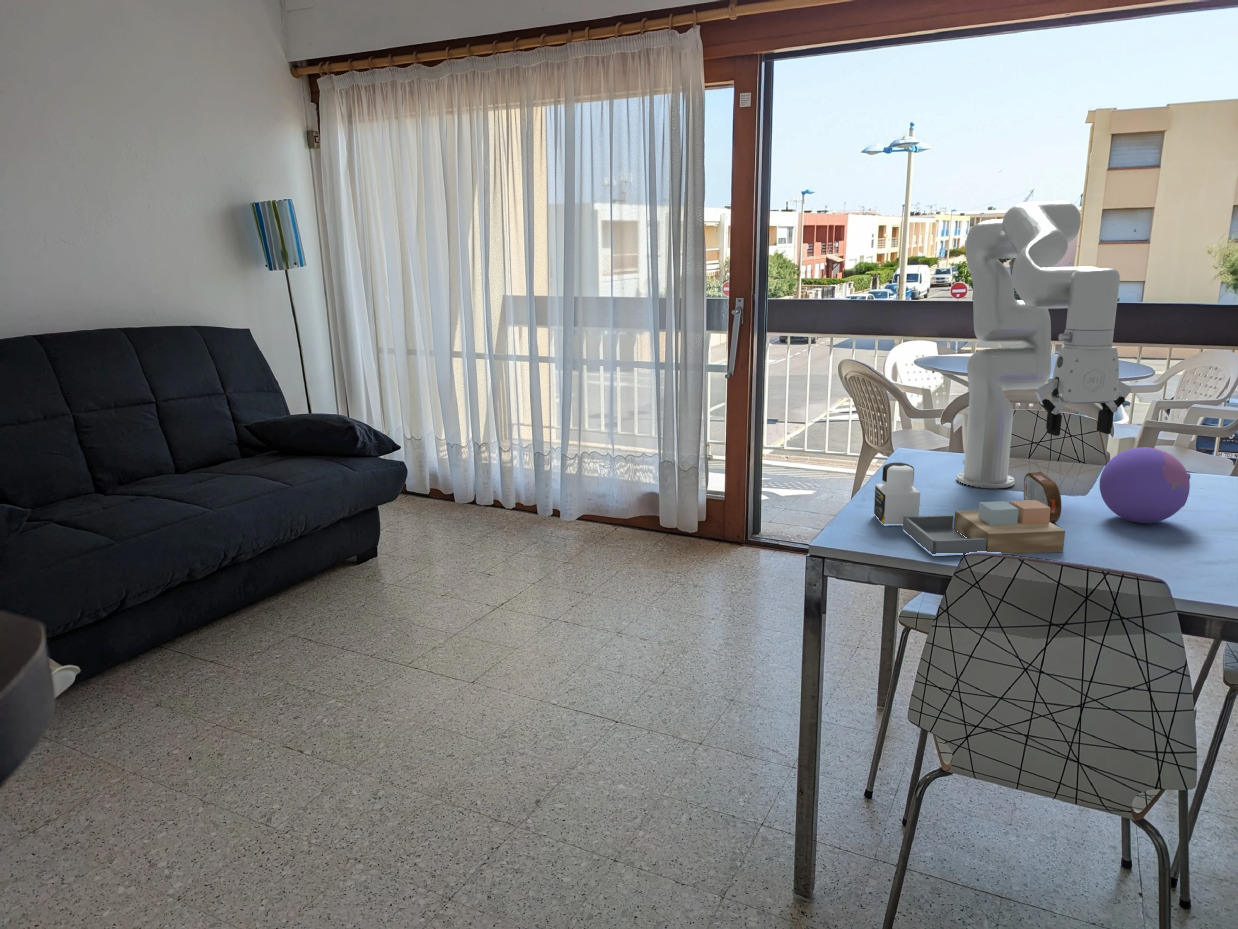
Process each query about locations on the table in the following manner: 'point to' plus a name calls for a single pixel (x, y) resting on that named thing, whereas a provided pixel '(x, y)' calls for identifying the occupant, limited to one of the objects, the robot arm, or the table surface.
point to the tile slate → (998, 513)
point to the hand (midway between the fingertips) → (1078, 433)
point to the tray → (941, 535)
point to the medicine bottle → (896, 494)
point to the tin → (1043, 493)
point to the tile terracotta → (1032, 511)
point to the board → (1010, 534)
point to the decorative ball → (1144, 485)
